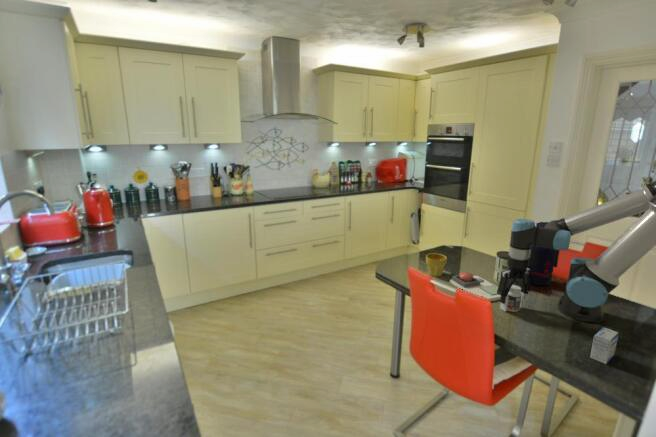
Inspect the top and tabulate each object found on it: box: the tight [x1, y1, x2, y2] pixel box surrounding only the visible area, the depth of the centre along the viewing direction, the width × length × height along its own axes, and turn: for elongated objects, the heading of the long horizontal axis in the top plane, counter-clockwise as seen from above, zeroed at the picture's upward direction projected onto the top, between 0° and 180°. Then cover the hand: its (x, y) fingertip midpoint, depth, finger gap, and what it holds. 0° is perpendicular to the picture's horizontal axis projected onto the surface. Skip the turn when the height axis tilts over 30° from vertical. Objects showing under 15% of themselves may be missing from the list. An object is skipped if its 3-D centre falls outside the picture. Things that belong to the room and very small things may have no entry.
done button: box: [459, 271, 474, 282], centre depth 163 cm, size 6×6×2 cm
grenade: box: [528, 221, 561, 287], centre depth 164 cm, size 14×12×30 cm
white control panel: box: [449, 274, 505, 302], centre depth 159 cm, size 22×16×4 cm
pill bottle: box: [507, 284, 522, 313], centre depth 141 cm, size 6×6×10 cm
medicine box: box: [590, 327, 620, 365], centre depth 111 cm, size 8×4×9 cm, turn 126°
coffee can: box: [493, 250, 518, 285], centre depth 167 cm, size 10×10×14 cm
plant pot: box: [425, 253, 448, 278], centre depth 176 cm, size 10×10×10 cm
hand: (511, 308), depth 142 cm, fingers open, 8 cm apart
